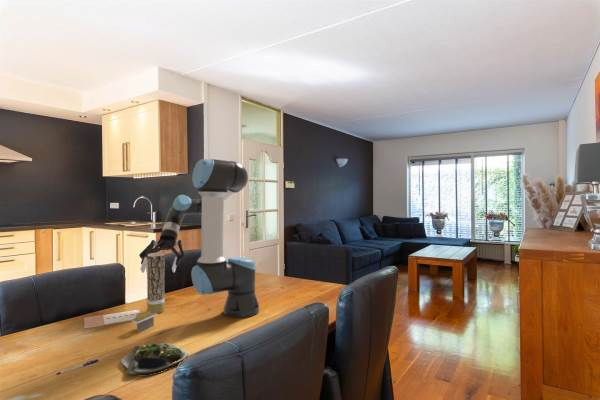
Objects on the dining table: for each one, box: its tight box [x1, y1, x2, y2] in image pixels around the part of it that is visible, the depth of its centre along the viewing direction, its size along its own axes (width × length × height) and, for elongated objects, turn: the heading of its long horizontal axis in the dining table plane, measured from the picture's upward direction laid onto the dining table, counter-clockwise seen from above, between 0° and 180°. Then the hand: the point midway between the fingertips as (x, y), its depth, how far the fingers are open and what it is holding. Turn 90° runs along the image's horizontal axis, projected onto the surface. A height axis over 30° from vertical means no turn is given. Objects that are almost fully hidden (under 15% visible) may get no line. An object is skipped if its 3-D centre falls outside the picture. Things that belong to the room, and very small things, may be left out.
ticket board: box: [83, 309, 141, 329], centre depth 137 cm, size 12×20×1 cm, turn 123°
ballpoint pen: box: [56, 359, 100, 376], centre depth 97 cm, size 10×1×1 cm, turn 142°
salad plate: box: [121, 343, 188, 376], centre depth 102 cm, size 19×18×5 cm
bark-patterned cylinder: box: [146, 252, 166, 314], centre depth 146 cm, size 7×7×25 cm
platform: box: [131, 310, 158, 334], centre depth 126 cm, size 12×18×7 cm, turn 161°
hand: (157, 270), depth 150 cm, fingers open, 13 cm apart
